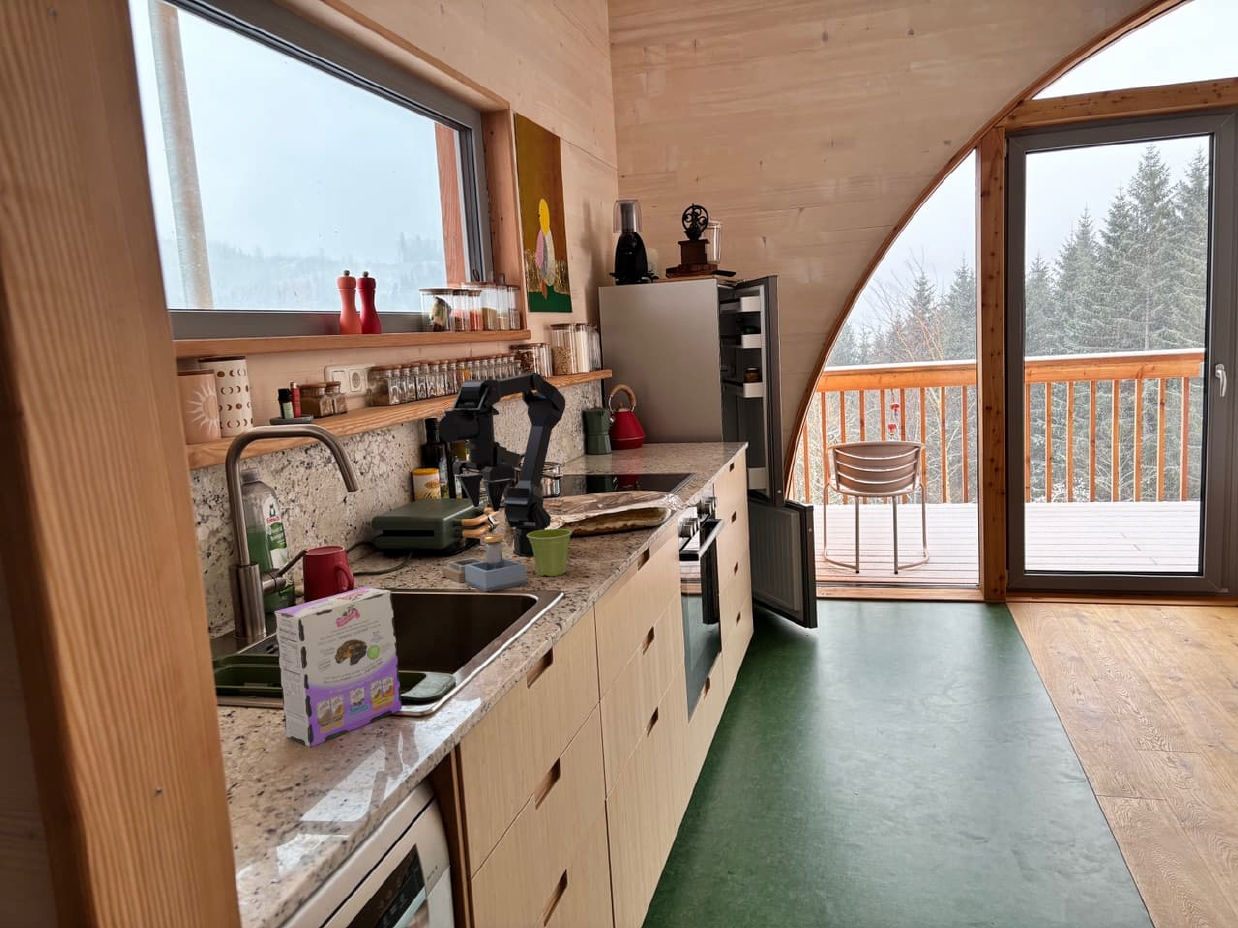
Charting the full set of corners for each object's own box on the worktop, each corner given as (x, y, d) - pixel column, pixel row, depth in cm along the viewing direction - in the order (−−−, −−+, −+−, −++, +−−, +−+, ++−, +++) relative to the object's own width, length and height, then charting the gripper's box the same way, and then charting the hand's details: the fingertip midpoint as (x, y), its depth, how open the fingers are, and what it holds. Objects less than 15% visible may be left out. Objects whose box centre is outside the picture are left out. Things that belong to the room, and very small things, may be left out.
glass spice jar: (483, 579, 188) (480, 536, 187) (499, 576, 190) (496, 533, 189) (492, 583, 185) (489, 539, 184) (507, 579, 187) (505, 536, 186)
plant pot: (537, 581, 188) (535, 539, 187) (523, 572, 196) (521, 532, 195) (580, 574, 192) (578, 533, 191) (564, 566, 200) (562, 526, 199)
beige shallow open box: (476, 569, 201) (475, 556, 200) (494, 575, 194) (493, 561, 194) (442, 576, 196) (441, 562, 196) (459, 582, 190) (458, 568, 189)
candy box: (376, 701, 126) (367, 584, 124) (403, 710, 122) (393, 589, 120) (284, 737, 115) (271, 609, 113) (310, 748, 111) (298, 616, 109)
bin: (504, 576, 194) (503, 557, 193) (526, 583, 186) (525, 564, 186) (466, 584, 188) (464, 564, 188) (486, 592, 181) (485, 572, 181)
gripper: (535, 436, 196) (539, 508, 198) (494, 432, 211) (498, 499, 213) (488, 441, 189) (493, 516, 191) (449, 437, 204) (454, 506, 206)
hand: (486, 509), depth 201 cm, fingers open, 9 cm apart
